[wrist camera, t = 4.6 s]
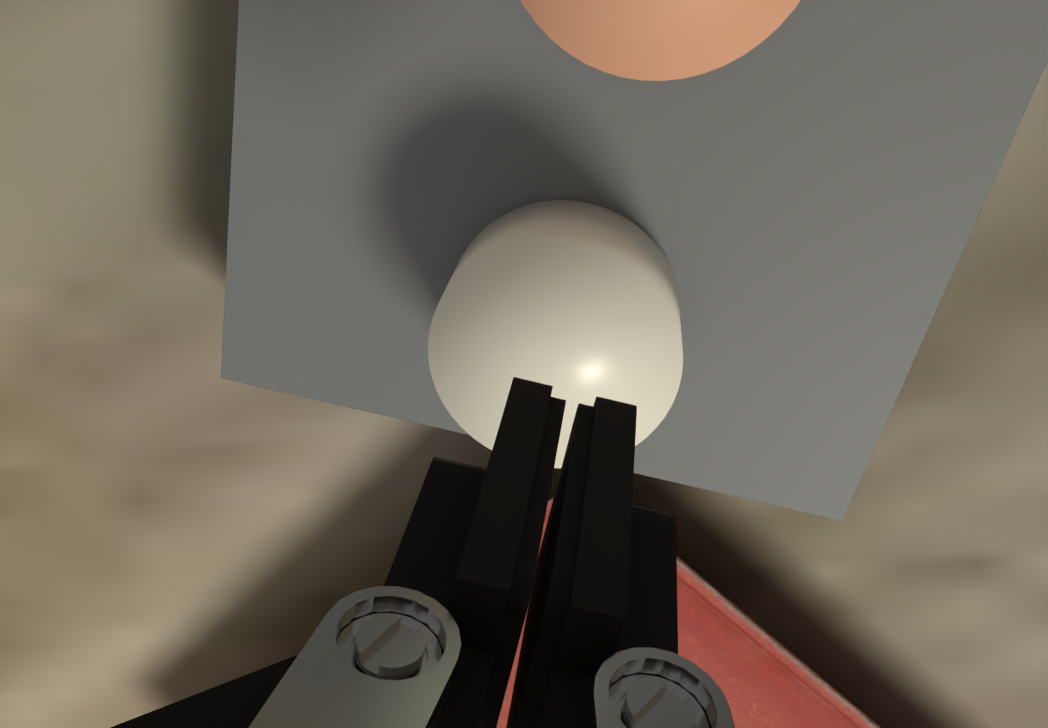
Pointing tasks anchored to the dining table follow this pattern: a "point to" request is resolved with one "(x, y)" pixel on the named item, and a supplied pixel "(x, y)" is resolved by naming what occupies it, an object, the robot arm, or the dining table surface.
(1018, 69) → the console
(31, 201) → the dining table surface
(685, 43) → the terracotta button
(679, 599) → the plant saucer
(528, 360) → the cream button
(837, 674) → the dining table surface
